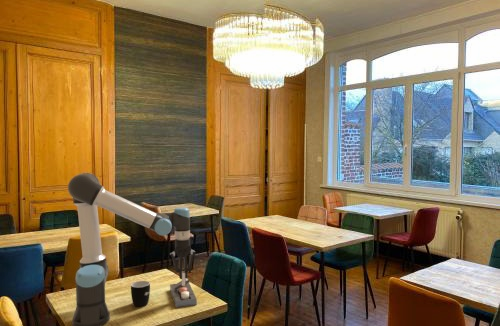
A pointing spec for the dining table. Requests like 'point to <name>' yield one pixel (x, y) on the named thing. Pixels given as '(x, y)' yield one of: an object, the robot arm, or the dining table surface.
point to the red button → (183, 289)
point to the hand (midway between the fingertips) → (183, 284)
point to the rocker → (180, 284)
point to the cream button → (184, 295)
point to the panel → (177, 296)
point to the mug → (140, 293)
